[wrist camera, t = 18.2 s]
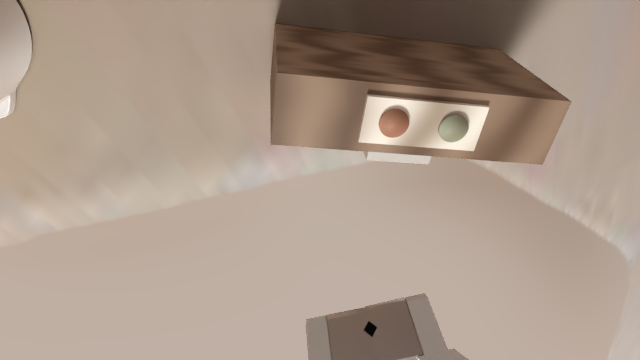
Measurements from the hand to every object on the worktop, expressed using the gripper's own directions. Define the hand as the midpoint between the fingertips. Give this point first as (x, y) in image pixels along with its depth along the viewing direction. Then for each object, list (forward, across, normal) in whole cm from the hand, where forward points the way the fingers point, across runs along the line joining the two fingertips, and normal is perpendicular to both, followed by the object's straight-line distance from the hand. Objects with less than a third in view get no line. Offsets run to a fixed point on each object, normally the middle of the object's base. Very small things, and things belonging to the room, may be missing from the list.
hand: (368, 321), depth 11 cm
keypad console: (+39, -8, +9) cm, 41 cm away
